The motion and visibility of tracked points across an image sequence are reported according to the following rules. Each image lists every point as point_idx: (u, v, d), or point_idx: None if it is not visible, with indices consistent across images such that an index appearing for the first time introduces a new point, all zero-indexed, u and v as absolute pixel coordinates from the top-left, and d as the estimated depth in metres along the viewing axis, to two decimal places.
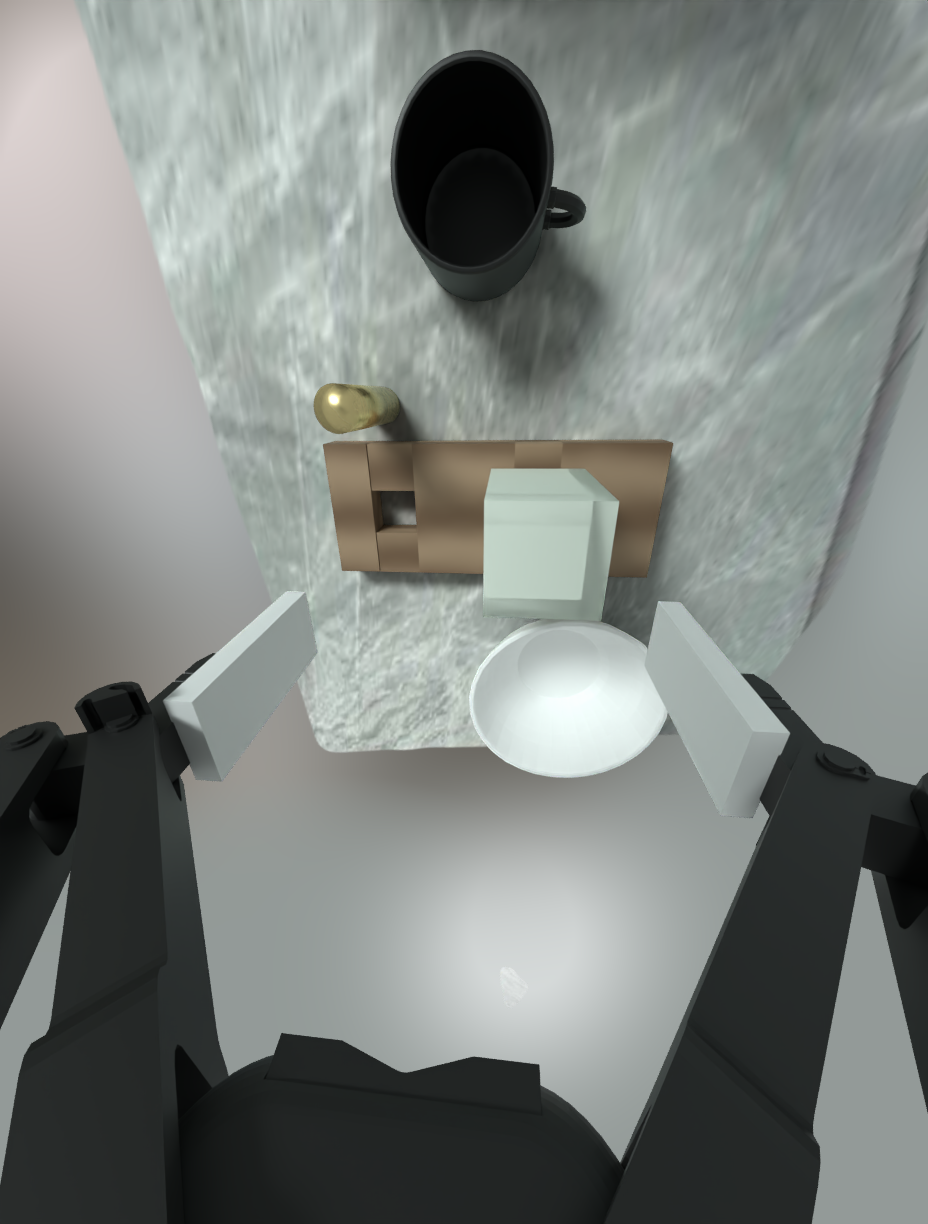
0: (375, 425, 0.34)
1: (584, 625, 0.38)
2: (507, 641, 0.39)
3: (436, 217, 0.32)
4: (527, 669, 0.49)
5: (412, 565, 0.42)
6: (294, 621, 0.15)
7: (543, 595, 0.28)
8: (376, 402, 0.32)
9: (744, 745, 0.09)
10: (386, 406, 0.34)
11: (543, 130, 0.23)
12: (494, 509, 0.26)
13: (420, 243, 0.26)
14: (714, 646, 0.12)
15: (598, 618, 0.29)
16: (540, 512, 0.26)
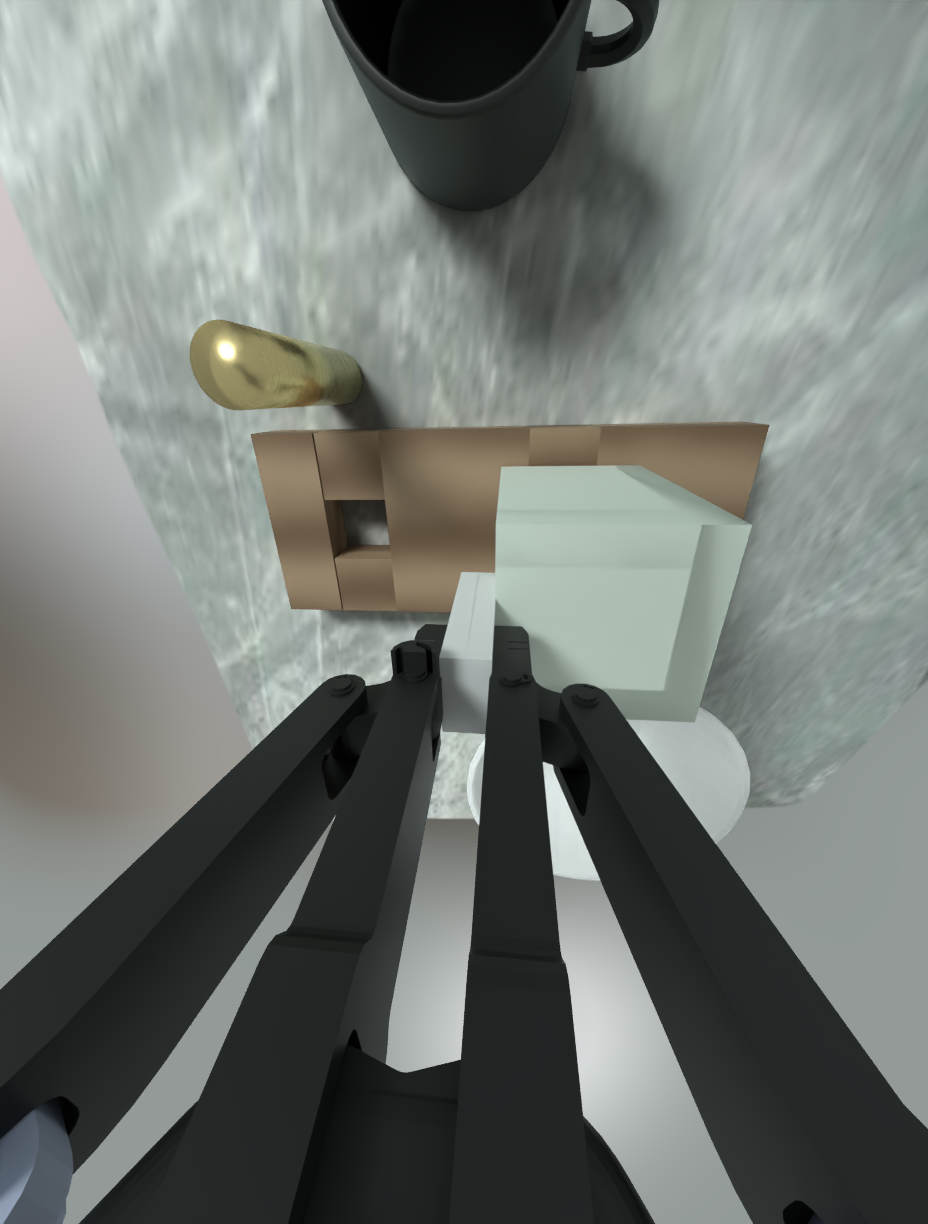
0: (319, 403, 0.23)
1: None
2: None
3: (405, 70, 0.20)
4: None
5: (386, 602, 0.30)
6: None
7: (597, 682, 0.16)
8: (311, 362, 0.20)
9: (466, 671, 0.12)
10: (335, 374, 0.23)
11: None
12: (514, 540, 0.14)
13: (364, 57, 0.14)
14: (492, 604, 0.15)
15: (690, 719, 0.17)
16: (600, 545, 0.14)
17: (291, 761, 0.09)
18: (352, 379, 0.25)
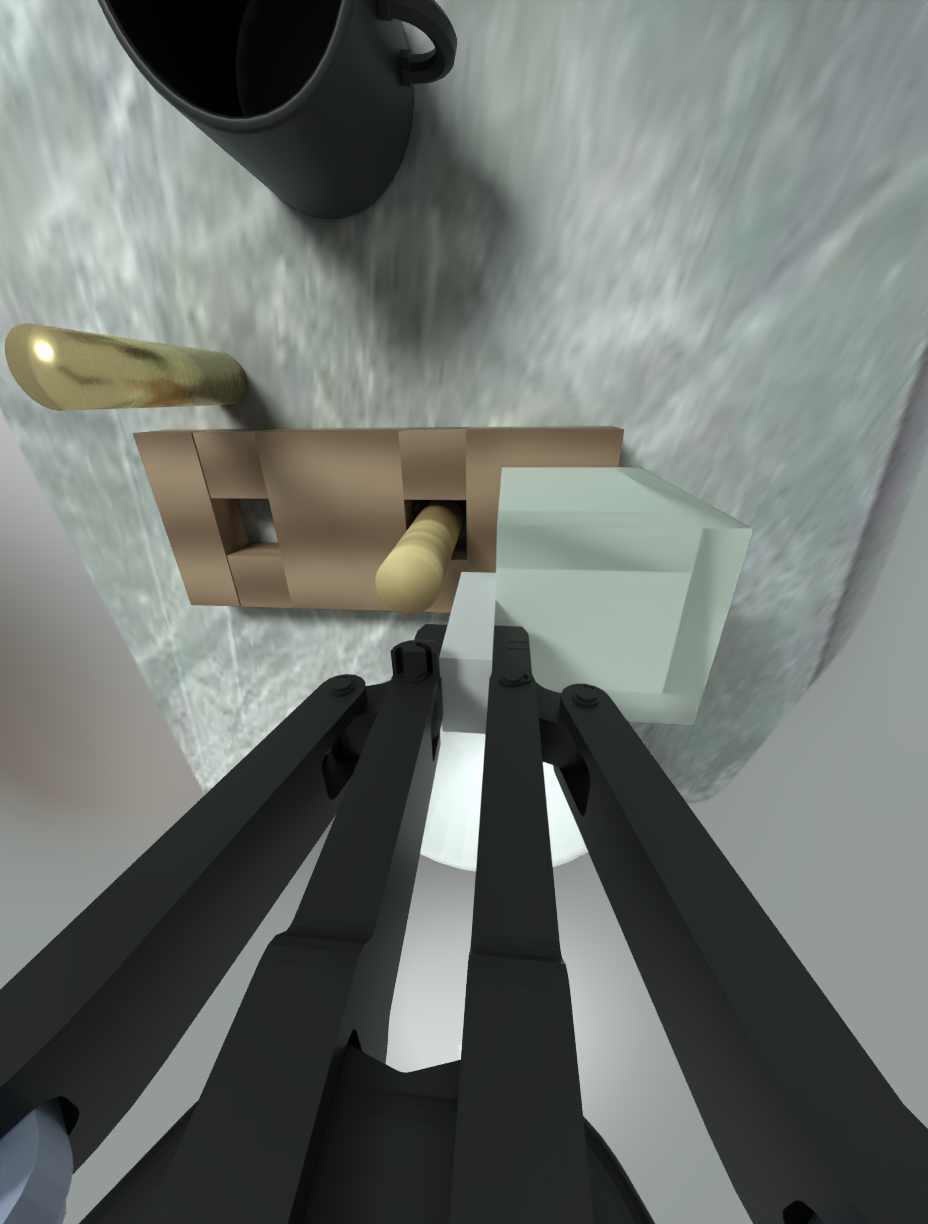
0: (183, 403, 0.23)
1: None
2: None
3: (253, 82, 0.21)
4: None
5: (281, 598, 0.31)
6: None
7: (596, 684, 0.16)
8: (158, 364, 0.21)
9: (466, 671, 0.12)
10: (198, 375, 0.23)
11: None
12: (515, 541, 0.14)
13: (152, 74, 0.15)
14: (492, 604, 0.15)
15: (689, 721, 0.17)
16: (601, 547, 0.14)
17: (291, 761, 0.09)
18: (229, 380, 0.26)
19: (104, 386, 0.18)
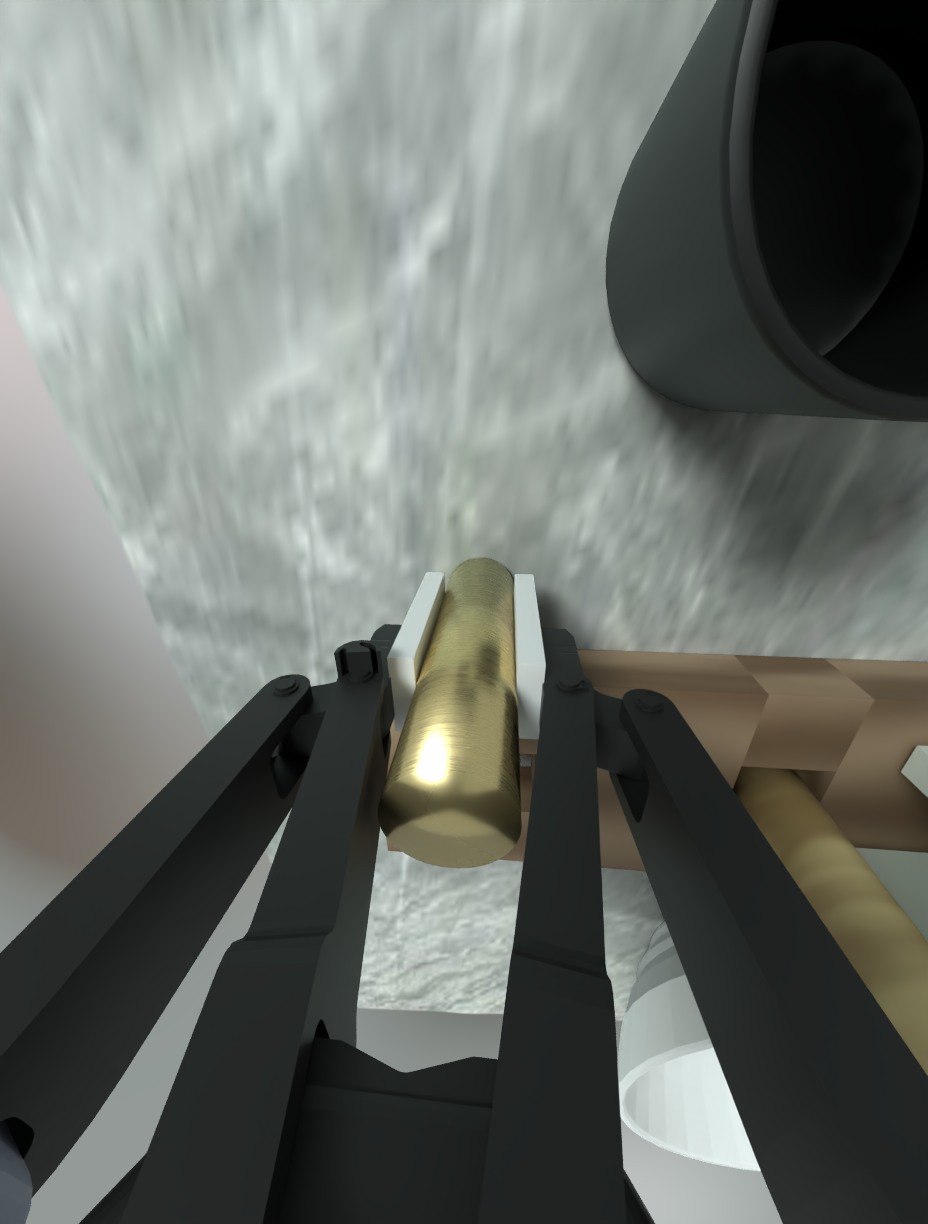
0: None
1: None
2: None
3: None
4: None
5: (517, 852, 0.23)
6: (440, 598, 0.17)
7: None
8: None
9: None
10: None
11: None
12: None
13: (785, 321, 0.07)
14: (534, 606, 0.15)
15: None
16: None
17: (238, 762, 0.09)
18: None
19: None
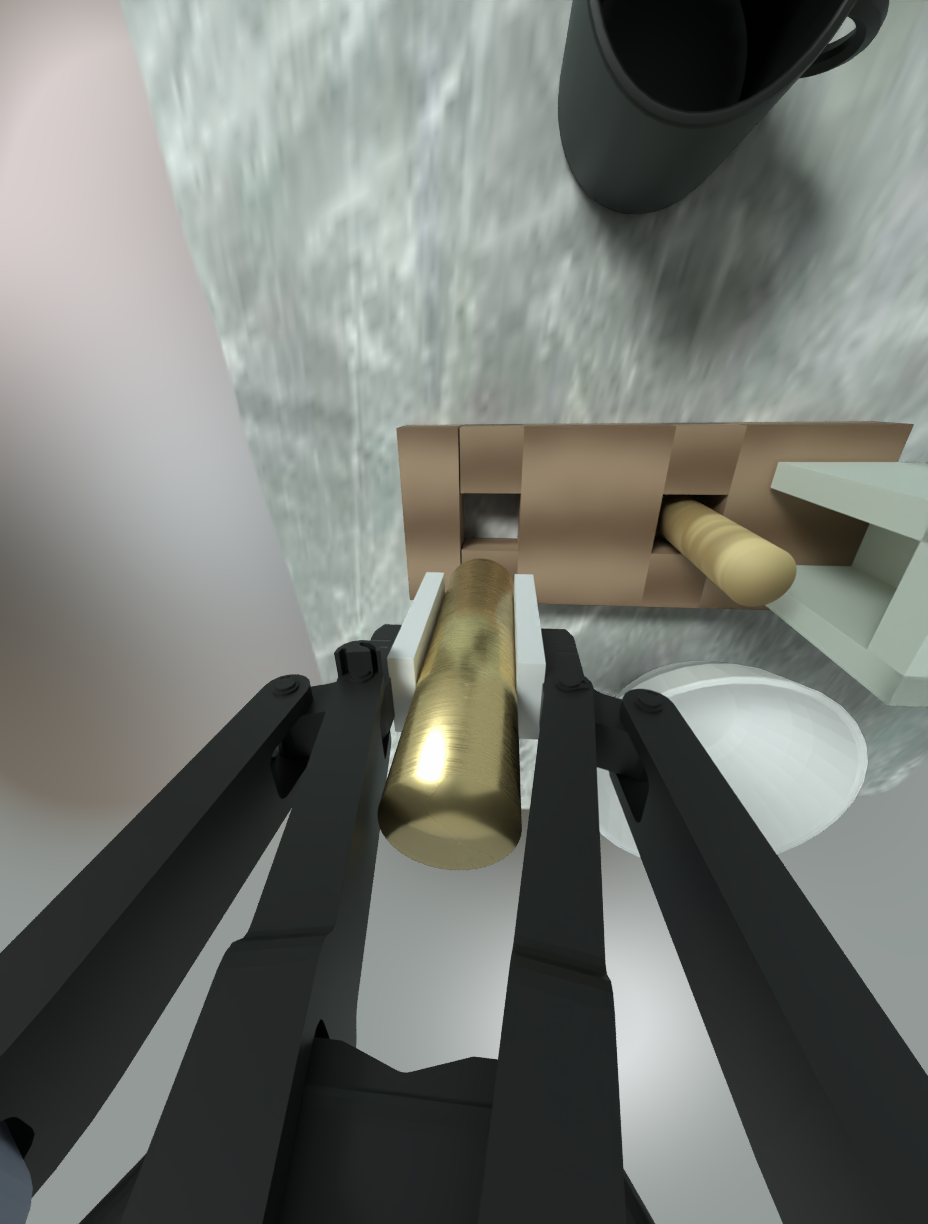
0: None
1: (764, 683, 0.27)
2: None
3: None
4: None
5: None
6: (440, 598, 0.17)
7: None
8: None
9: None
10: None
11: None
12: None
13: (621, 68, 0.15)
14: (535, 606, 0.15)
15: None
16: None
17: (238, 762, 0.09)
18: None
19: None
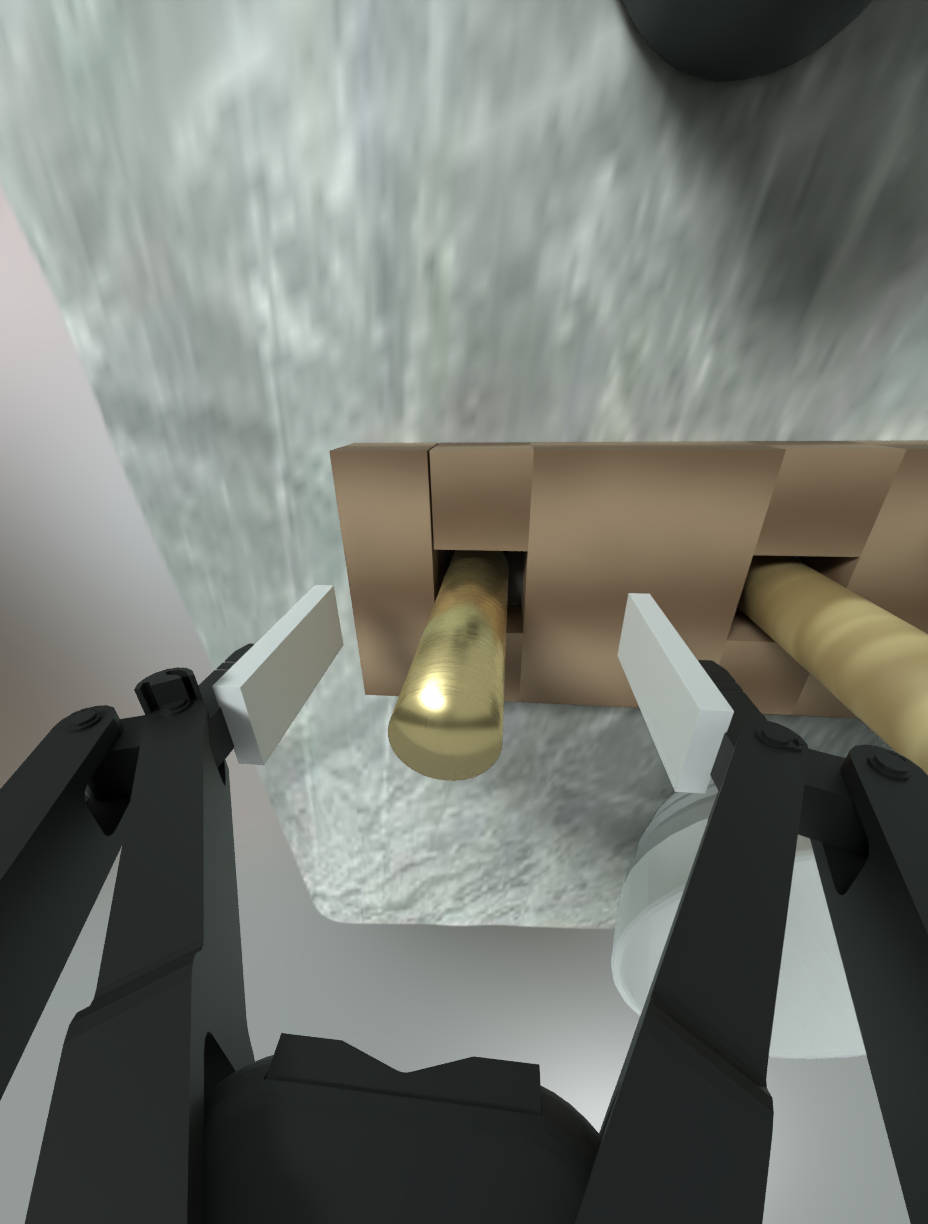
0: None
1: None
2: None
3: None
4: None
5: (506, 689, 0.21)
6: (324, 614, 0.16)
7: None
8: (504, 640, 0.15)
9: (693, 723, 0.10)
10: None
11: None
12: None
13: None
14: (675, 634, 0.13)
15: None
16: None
17: (42, 805, 0.08)
18: None
19: None
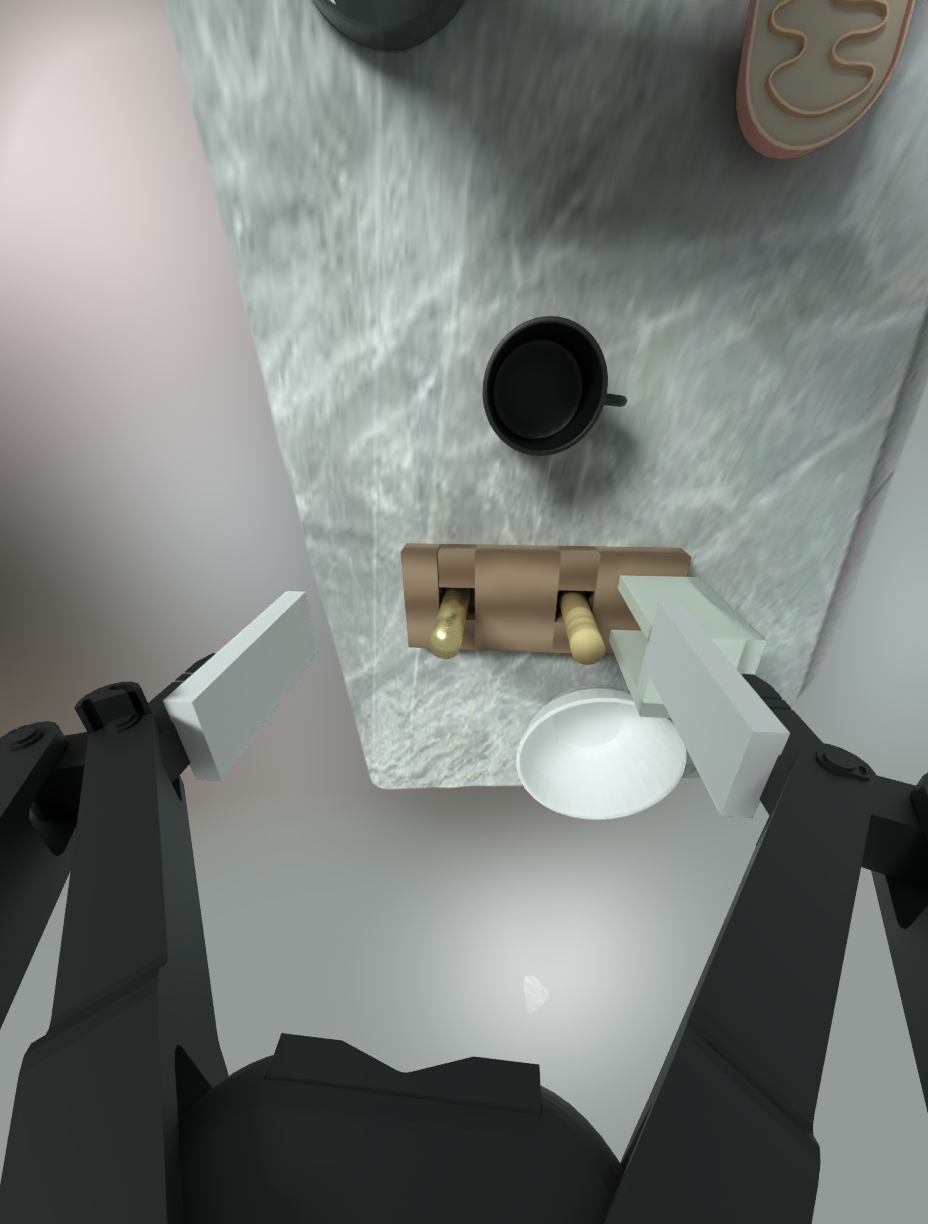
0: None
1: (616, 701, 0.46)
2: (551, 712, 0.47)
3: (502, 385, 0.40)
4: (561, 724, 0.57)
5: (469, 644, 0.50)
6: (294, 621, 0.15)
7: None
8: (464, 620, 0.44)
9: (744, 745, 0.09)
10: None
11: (600, 366, 0.31)
12: None
13: (502, 435, 0.34)
14: (714, 646, 0.12)
15: None
16: None
17: None
18: None
19: None
